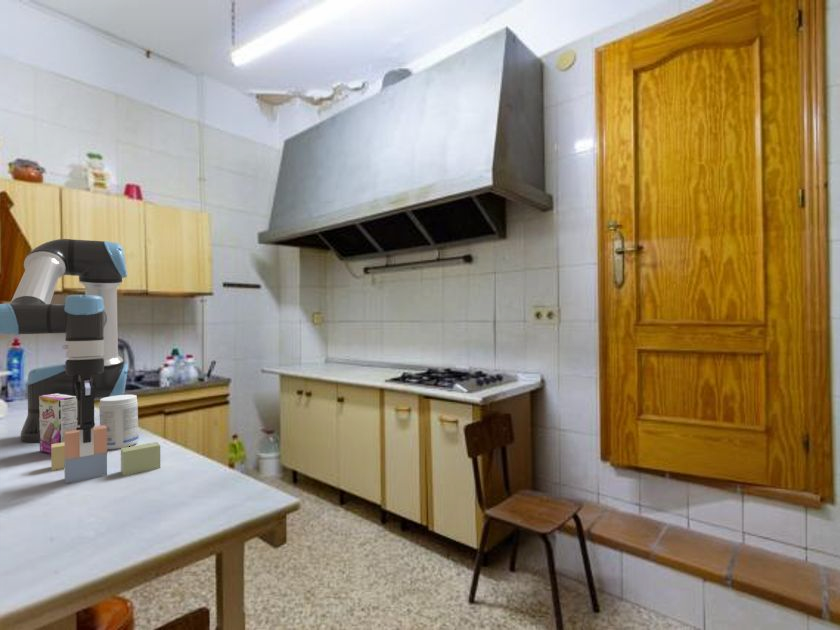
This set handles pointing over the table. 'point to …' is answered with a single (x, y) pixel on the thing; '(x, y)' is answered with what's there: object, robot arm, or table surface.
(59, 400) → the candy bar box
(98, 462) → the slate-blue brick
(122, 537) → the table surface
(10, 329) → the robot arm
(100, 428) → the terracotta brick
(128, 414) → the supplement tub
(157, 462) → the olive brick
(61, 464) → the ochre brick
